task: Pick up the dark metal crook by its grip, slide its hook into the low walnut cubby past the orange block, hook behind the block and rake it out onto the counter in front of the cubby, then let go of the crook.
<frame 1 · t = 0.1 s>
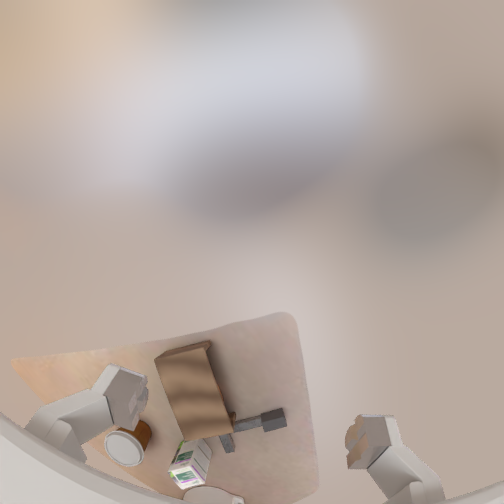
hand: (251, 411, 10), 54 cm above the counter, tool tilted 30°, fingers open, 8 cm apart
walnut cubby: (201, 384, 62), on the counter
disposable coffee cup: (139, 429, 60), on the counter
metal crook: (272, 415, 61), on the counter
syrup box: (197, 446, 60), on the counter
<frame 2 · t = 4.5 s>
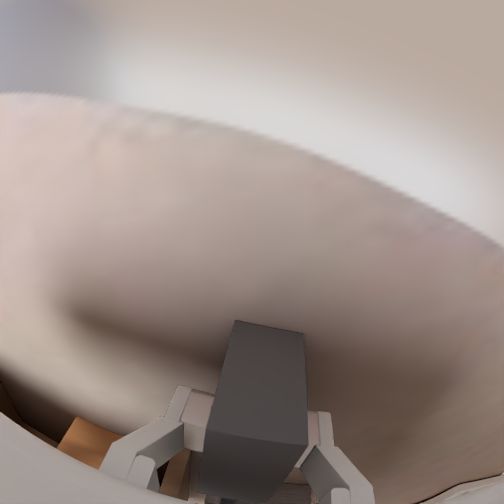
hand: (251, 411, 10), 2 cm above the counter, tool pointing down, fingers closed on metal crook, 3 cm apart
walnut cubby: (77, 436, 17), on the counter
orange block: (105, 440, 16), on the counter
metal crook: (256, 373, 12), on the counter, touching gripper
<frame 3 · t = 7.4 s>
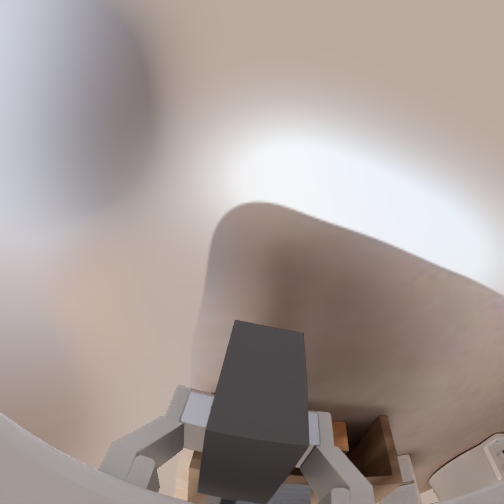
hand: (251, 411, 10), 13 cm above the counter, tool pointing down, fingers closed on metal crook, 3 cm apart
walnut cubby: (291, 436, 28), on the counter
orange block: (321, 430, 28), on the counter
metal crook: (256, 373, 12), point 11 cm above the counter, touching gripper
syrup box: (385, 464, 30), on the counter
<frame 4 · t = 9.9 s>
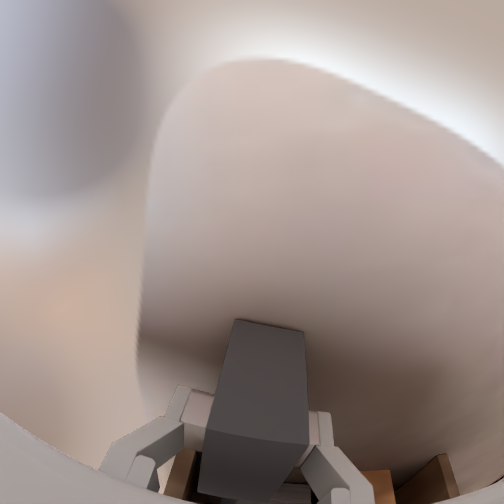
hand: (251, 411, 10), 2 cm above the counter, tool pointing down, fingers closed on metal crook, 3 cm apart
walnut cubby: (307, 490, 16), on the counter
orange block: (353, 481, 16), on the counter
metal crook: (257, 372, 12), on the counter, touching gripper
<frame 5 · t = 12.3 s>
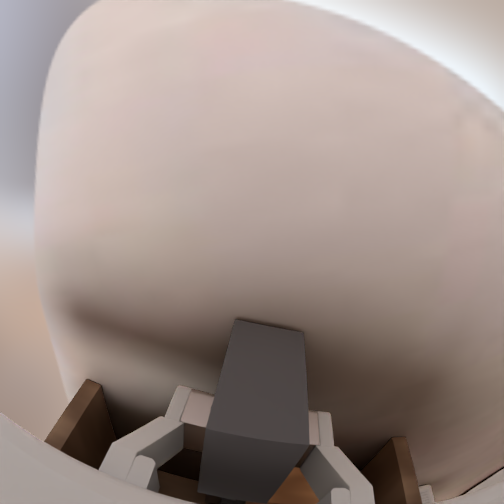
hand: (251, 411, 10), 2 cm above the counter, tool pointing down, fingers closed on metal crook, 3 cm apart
walnut cubby: (235, 466, 16), on the counter
orange block: (287, 460, 15), on the counter
metal crook: (256, 372, 12), on the counter, touching gripper
syrup box: (394, 498, 18), on the counter
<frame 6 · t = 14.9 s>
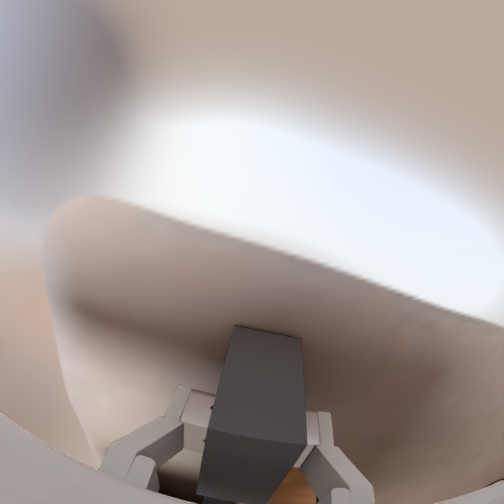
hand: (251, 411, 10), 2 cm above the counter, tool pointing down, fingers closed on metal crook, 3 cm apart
orange block: (275, 467, 15), on the counter
metal crook: (255, 378, 12), on the counter, touching gripper
when the fingers open (2 cm above the counter, at t = 15.6 s): metal crook stays where it is, on the counter.
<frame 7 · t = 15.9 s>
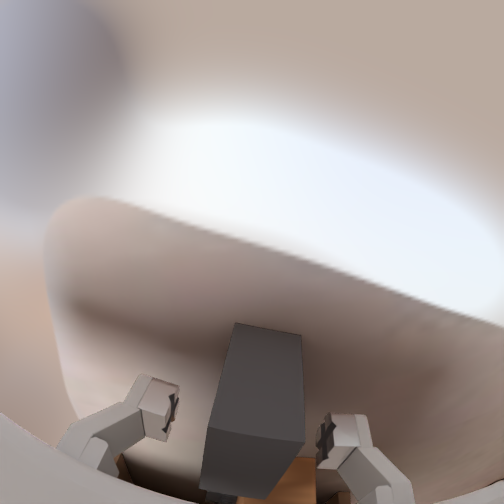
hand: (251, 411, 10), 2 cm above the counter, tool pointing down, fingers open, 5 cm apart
walnut cubby: (222, 501, 19), on the counter
orange block: (275, 467, 15), on the counter
metal crook: (256, 373, 12), on the counter
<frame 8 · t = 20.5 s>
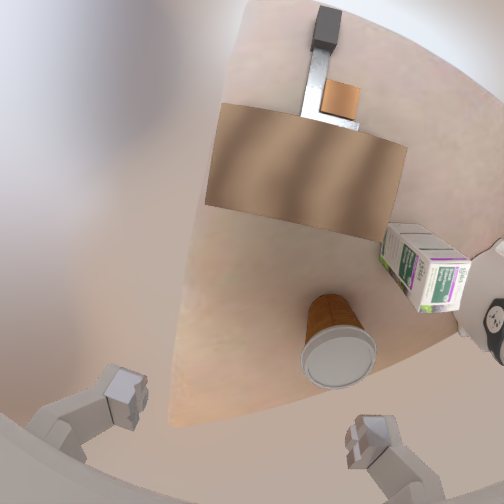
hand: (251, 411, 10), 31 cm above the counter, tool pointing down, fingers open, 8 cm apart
walnut cubby: (302, 165, 36), on the counter
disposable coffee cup: (329, 311, 43), on the counter
orange block: (335, 103, 33), on the counter
metal crook: (323, 37, 30), on the counter
syrup box: (399, 241, 38), on the counter
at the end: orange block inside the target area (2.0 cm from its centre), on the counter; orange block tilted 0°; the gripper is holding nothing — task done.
